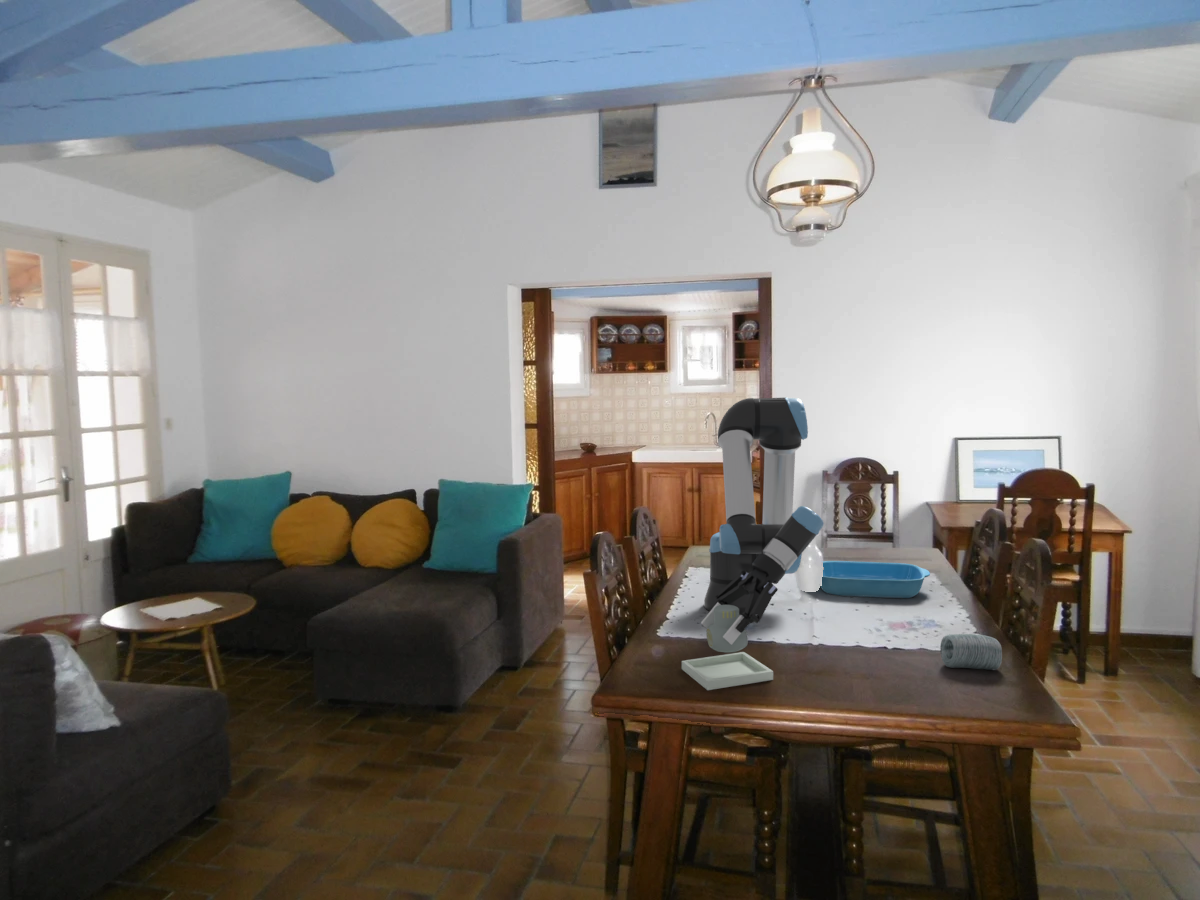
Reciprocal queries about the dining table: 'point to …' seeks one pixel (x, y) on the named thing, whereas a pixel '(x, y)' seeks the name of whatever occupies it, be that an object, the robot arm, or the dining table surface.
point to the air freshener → (725, 630)
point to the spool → (971, 651)
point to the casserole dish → (872, 579)
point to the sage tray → (726, 670)
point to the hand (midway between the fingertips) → (715, 633)
